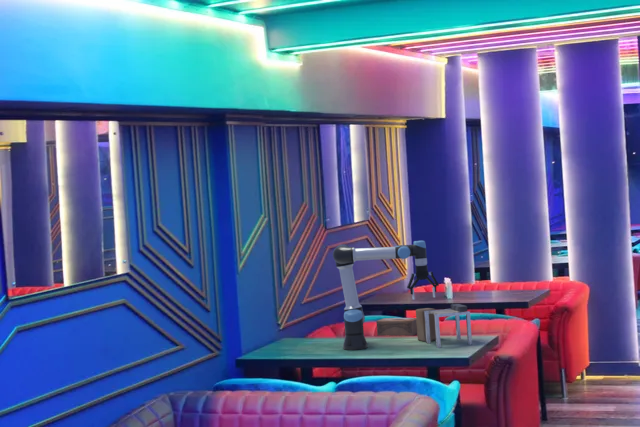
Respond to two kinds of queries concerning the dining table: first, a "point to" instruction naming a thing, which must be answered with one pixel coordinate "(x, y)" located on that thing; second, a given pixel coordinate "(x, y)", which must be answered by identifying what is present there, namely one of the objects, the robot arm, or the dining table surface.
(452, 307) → the trapdoor
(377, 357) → the dining table surface
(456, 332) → the frame
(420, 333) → the block
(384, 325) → the tissue box cover
